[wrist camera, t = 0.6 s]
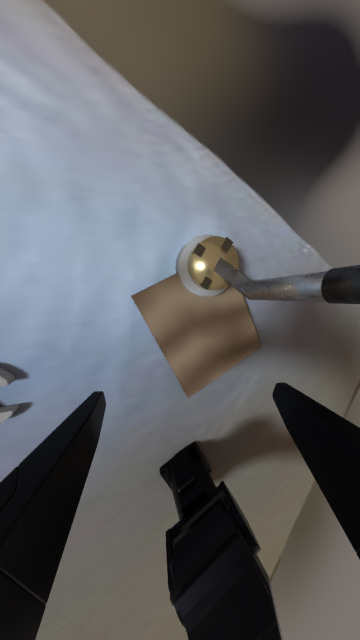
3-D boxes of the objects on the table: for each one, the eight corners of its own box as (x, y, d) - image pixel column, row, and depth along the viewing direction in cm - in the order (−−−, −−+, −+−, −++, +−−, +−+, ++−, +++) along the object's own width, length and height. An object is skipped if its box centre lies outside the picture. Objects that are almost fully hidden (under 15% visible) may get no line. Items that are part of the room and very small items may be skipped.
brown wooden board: (257, 345, 28) (267, 348, 27) (185, 394, 25) (191, 402, 23) (213, 231, 24) (222, 225, 22) (119, 274, 21) (119, 272, 19)
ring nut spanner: (177, 274, 21) (318, 215, 6) (202, 228, 21) (399, 58, 6) (239, 316, 24) (428, 346, 9) (260, 276, 24) (476, 242, 9)
